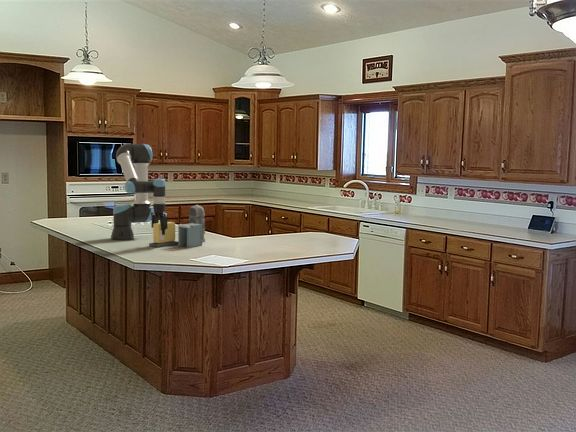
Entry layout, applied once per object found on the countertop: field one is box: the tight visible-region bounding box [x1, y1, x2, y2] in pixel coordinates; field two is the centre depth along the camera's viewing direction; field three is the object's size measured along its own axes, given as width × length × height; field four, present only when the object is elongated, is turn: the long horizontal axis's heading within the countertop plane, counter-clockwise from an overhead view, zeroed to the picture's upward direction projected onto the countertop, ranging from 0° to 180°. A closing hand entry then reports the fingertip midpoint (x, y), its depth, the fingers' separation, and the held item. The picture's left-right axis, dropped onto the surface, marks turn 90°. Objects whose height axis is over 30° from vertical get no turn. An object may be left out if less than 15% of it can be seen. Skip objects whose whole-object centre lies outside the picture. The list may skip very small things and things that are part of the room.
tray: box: [148, 240, 178, 249], centre depth 389 cm, size 9×18×2 cm, turn 143°
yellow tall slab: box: [152, 221, 176, 243], centre depth 389 cm, size 5×14×12 cm, turn 143°
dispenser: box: [177, 223, 203, 249], centre depth 389 cm, size 9×12×14 cm
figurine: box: [187, 204, 206, 243], centre depth 408 cm, size 10×14×25 cm
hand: (159, 239), depth 386 cm, fingers closed on yellow tall slab, 5 cm apart
